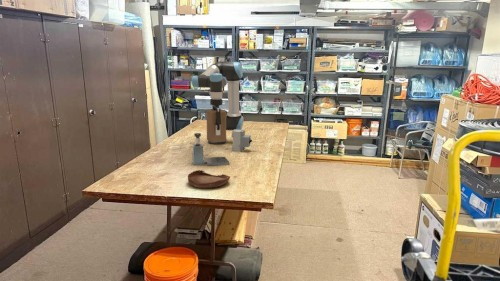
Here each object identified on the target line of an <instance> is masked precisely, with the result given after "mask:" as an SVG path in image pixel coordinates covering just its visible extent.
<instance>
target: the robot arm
mask: <svg viewBox="0 0 500 281" xmlns="http://www.w3.org/2000/svg"><path fill="white" fill-rule="evenodd" d="M243 70H244V69H243V66H242V63H241V62H239V61H217V62H215V63H212V64H210V65H209V66H208V67H207V69H206V70H205V71H203V72H202V73H201V74H199V75H193V76H192V78H191V85H192V87H194V88H200V89H201V88H206V89H207V88H209V91H210V92H209V97H210V100H209V101H210V102H209V104H210V105H211V106H212V109H213V110H215V111H216V124H215V125H216V135H220V124H221V115H220V109H221V108H220V106H222V105H223V88H225V87H226V86H227V105H228V109H227V110H228V112H226V131H231V132H232V131H233V130H234V129H235V130H243V125H244V116H243V115H242V113H241V112H240V89H239V88H240V86H239V85H240V84H239V83H240V81H241V79H242V78H243V76H244V75H243V74H244V72H243ZM227 142H228V139H227V138H226V141H225V142H215V143H212V142H210V141H209V140H207V143H208V144H210V145H211V144H212V145H224V144H227Z"/></svg>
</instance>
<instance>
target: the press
mask: <svg viewBox="0 0 500 281" xmlns="http://www.w3.org/2000/svg"><path fill="white" fill-rule="evenodd" d="M192 164H193V166H199V165H201V166H202V165H206V166H207V167H211V166H229V165H230V161H229V160H228V159H227V158H226V156H214V157H204V145H203V143H200V146H196V143H195V144H192Z"/></svg>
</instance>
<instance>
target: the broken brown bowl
mask: <svg viewBox="0 0 500 281" xmlns="http://www.w3.org/2000/svg"><path fill="white" fill-rule="evenodd" d="M230 179H231V176H230V175H228V174H223V173H222V174H217V175H216V174H215V175H214V174H211V173H208V172H205V171H204V170H199V169H197V170H193V171H191V172H190V173H188V174H187V181H188V183H189V184H190V185H191V186H192V187H193V188H194V187H195V188H197V189H198V188H199V189H212V188H218V187H220V186H223V185H225V184H226V183H228V181H230Z"/></svg>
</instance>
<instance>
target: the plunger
mask: <svg viewBox="0 0 500 281" xmlns="http://www.w3.org/2000/svg"><path fill="white" fill-rule="evenodd" d="M201 136H202V134H201V133H200V132H195V133H194V137H195V144H196V146H200V144H201V143H200V141H201V139H200V137H201Z"/></svg>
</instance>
